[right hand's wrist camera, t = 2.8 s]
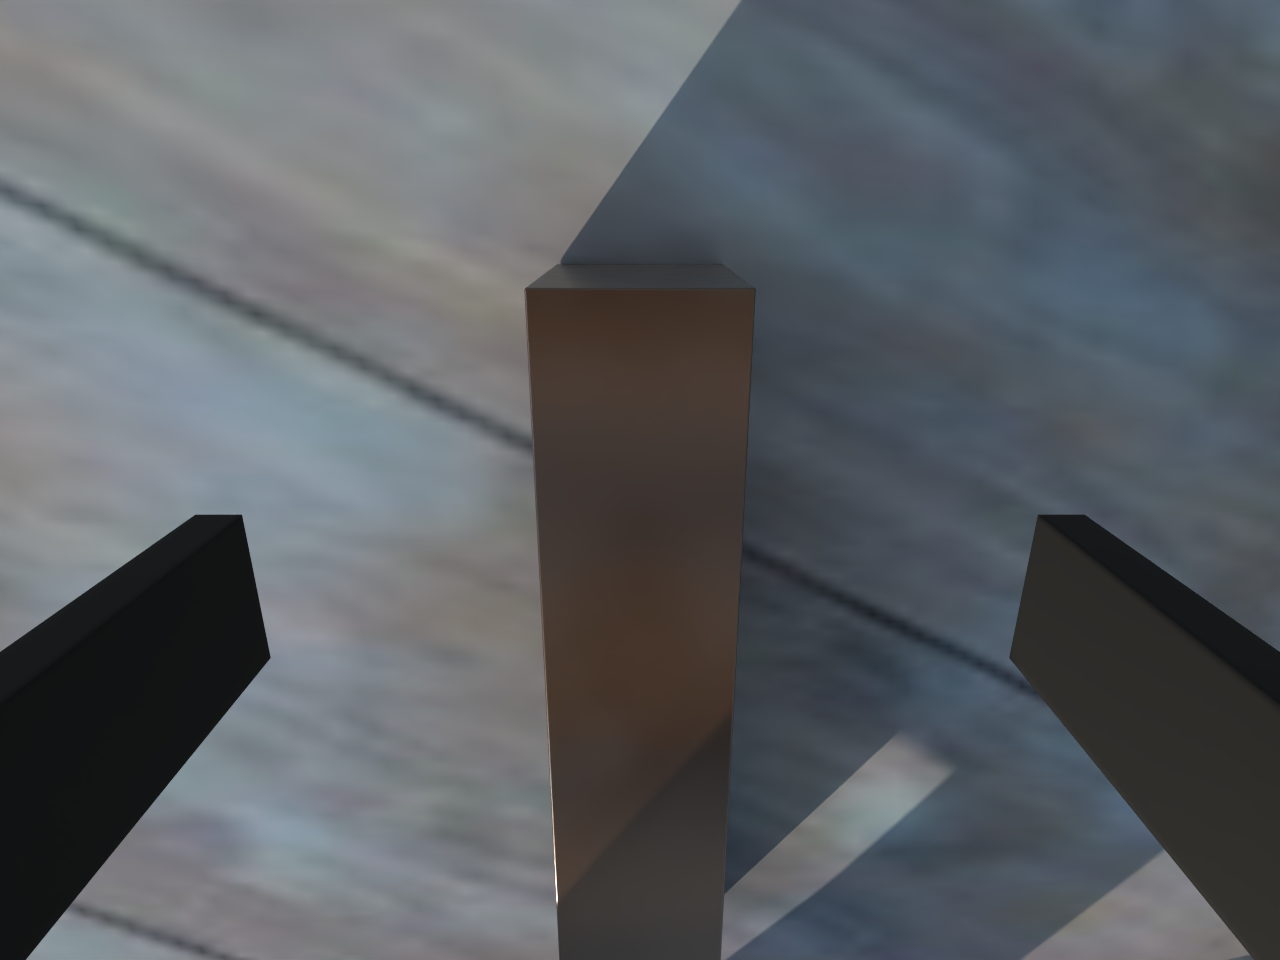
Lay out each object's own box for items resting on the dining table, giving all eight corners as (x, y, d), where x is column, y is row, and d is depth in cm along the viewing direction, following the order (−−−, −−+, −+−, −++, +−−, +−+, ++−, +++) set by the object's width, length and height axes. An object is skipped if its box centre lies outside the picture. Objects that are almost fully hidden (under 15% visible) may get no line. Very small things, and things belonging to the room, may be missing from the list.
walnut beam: (556, 264, 27) (524, 288, 19) (723, 263, 27) (755, 288, 19) (580, 919, 38) (566, 1095, 31) (699, 919, 38) (713, 1095, 31)
